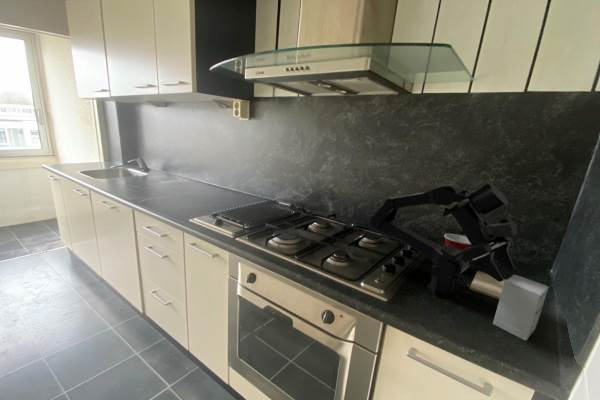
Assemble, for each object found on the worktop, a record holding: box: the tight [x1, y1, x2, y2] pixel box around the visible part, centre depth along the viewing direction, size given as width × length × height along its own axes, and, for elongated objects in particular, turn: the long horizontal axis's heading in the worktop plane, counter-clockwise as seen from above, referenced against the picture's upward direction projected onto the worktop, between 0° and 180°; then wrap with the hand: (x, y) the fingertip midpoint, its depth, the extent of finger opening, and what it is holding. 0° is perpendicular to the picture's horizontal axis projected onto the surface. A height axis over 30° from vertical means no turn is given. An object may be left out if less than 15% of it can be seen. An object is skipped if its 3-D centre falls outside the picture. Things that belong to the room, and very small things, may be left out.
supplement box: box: [492, 274, 549, 341], centre depth 69 cm, size 7×7×13 cm
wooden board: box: [469, 270, 507, 301], centre depth 88 cm, size 15×15×1 cm
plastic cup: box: [443, 233, 471, 250], centre depth 100 cm, size 11×11×12 cm
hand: (507, 276), depth 70 cm, fingers open, 9 cm apart
